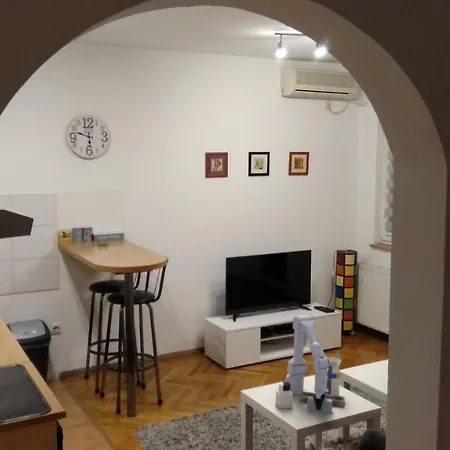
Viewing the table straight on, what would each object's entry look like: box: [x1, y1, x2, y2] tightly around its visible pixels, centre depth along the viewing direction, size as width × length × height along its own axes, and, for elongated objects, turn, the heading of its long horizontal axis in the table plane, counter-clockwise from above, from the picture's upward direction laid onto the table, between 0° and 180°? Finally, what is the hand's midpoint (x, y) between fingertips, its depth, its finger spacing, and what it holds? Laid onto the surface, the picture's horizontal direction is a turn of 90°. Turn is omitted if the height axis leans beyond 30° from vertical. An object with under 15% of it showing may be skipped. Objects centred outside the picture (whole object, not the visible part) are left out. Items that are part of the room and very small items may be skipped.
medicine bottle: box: [275, 380, 294, 409], centre depth 309 cm, size 7×7×12 cm
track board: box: [299, 391, 346, 409], centre depth 315 cm, size 22×8×3 cm, turn 74°
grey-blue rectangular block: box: [306, 396, 333, 414], centre depth 304 cm, size 12×3×6 cm, turn 74°
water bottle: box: [326, 351, 342, 396], centre depth 324 cm, size 8×9×25 cm
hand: (319, 407), depth 304 cm, fingers open, 7 cm apart
